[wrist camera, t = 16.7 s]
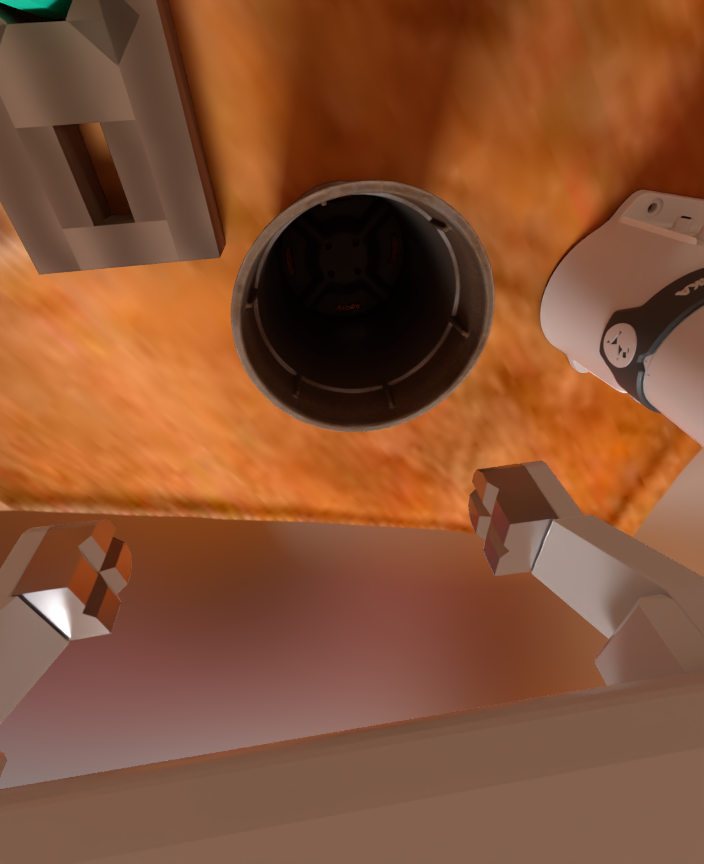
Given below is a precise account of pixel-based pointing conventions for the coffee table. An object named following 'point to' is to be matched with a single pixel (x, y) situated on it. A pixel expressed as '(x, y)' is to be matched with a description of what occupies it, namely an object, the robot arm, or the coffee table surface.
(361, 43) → the coffee table surface
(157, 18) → the socket block
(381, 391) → the plant pot
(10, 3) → the candle
